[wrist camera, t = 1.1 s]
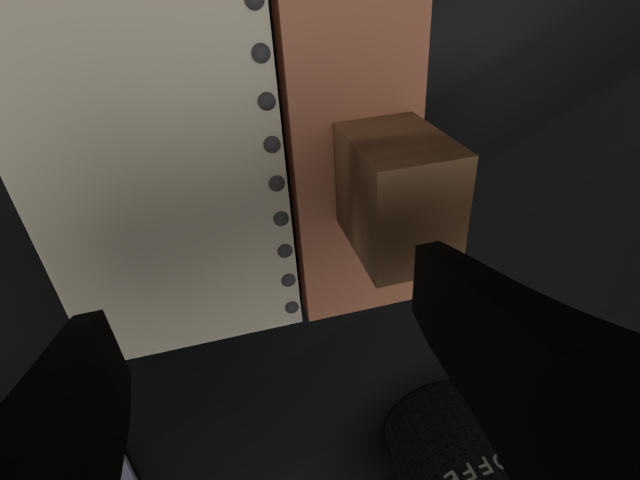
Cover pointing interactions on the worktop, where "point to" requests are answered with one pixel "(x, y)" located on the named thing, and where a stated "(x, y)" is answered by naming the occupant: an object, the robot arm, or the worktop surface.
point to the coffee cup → (440, 438)
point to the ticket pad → (151, 164)
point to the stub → (364, 150)
